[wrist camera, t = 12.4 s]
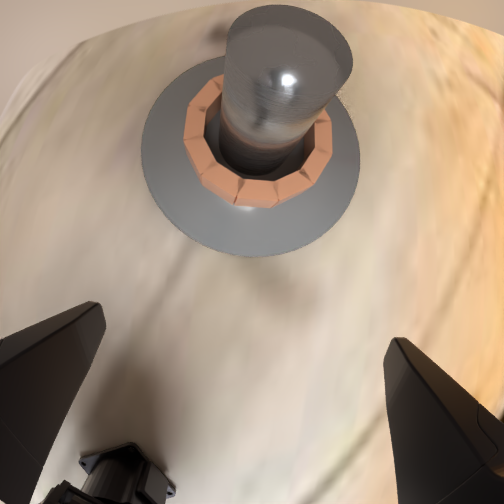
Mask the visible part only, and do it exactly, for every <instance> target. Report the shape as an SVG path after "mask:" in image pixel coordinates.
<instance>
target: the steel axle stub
mask: <svg viewBox="0 0 504 504" xmlns="http://www.w3.org/2000/svg"><path fill="white" fill-rule="evenodd" d="M352 66H353V58H352V53H351V50H350V47H349V45H348V43H347V41H346V40H345V38H344V37H343V35H342V34H341V33H340V32H339V31H338V30H337V29H336V28H335V27H334V26H333V25H332V24H331V23H329V22H328V21H327V20H325V19H324V18H322V17H320V16H318V15H317V14H315V13H312V12H310V11H307V10H305V9H302V8H298V7H294V6H288V5H266V6H261V7H257V8H254V9H251V10H249V11H247V12H245V13H244V14H242V15H241V16H239V17H238V18H237V19H236V20H235V21H234V23H233V24H232V26H231V27H230V29H229V33H228V38H227V47H226V57H225V67H224V78H223V89H222V101H221V113H220V126H219V139H218V144H219V150H220V153H221V155H222V157H223V159H224V160H225V161H226V163H227V164H228V165H229V166H230V167H232V168H233V169H234V170H236V171H238V172H240V173H243V174H246V175H251V176H261V175H266V174H269V173H271V172H273V171H275V170H277V169H278V168H279V167H280V166H281V165H282V164H283V163H284V162H285V160H286V159H287V157H288V156H289V155H290V153H291V152H292V151H293V150H294V148H295V147H296V146H297V144H298V143H299V142H300V140H301V139H302V138H303V136H304V135H305V134H306V132H307V131H308V130H309V128H310V127H311V126H312V124H313V123H314V122H315V121H316V119H317V118H318V117H319V115H320V114H321V113H322V111H323V110H324V109H325V108H326V106H327V105H328V104H329V102H330V101H331V100H332V99H333V97H334V96H335V95H336V93H337V92H338V91H339V90H340V88H341V87H342V86H343V84H344V83H345V82H346V81H347V79H348V78H349V76H350V74H351V71H352Z"/></svg>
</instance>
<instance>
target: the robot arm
mask: <svg viewBox="0 0 504 504" xmlns="http://www.w3.org/2000/svg"><path fill="white" fill-rule="evenodd" d="M105 330H106V321H105V317H104V313H103V309H102V306H101V304H100V303H97V302H93V301H88V302H85V303H83V304H81V305H78V306H76V307H74V308H71V309H69V310H67V311H64V312H62V313H60V314H57V315H55V316H53V317H51V318H48V319H46V320H44V321H41V322H39V323H37V324H34V325H32V326H30V327H28V328H25V329H23V330H21V331H19V332H16V333H14V334H12V335H9V336H7V337H5V338H4V339H0V500H1V501H3V502H4V503H5V504H29V503H30V501H31V498H32V495H33V493H34V490H35V487H36V485H37V482H38V480H39V477H40V475H41V472H42V470H43V466H44V464H45V462H46V460H47V457H48V455H49V452H50V450H51V448H52V446H53V443H54V441H55V439H56V437H57V434H58V432H59V430H60V428H61V426H62V423H63V421H64V419H65V417H66V415H67V413H68V411H69V409H70V407H71V404H72V402H73V400H74V398H75V396H76V394H77V392H78V390H79V388H80V386H81V384H82V382H83V380H84V379H85V377H86V375H87V373H88V371H89V369H90V367H91V364H92V362H93V359H94V357H95V354H96V352H97V349H98V347H99V345H100V342H101V340H102V337H103V335H104V333H105ZM383 367H384V379H385V395H386V408H387V415H388V421H389V428H390V434H391V441H392V448H393V456H394V464H395V473H396V483H397V494H398V504H504V424H503V423H502V422H501V421H499V420H498V419H497V418H496V417H495V416H494V415H492V414H491V413H490V412H489V411H488V410H487V409H486V408H485V407H484V406H482V405H481V404H480V403H479V402H478V401H477V400H476V399H475V398H474V397H473V396H471V395H470V394H469V393H468V392H467V391H466V390H465V389H464V388H463V387H461V386H460V385H459V384H458V383H457V382H456V381H455V380H454V379H453V378H451V377H450V376H449V375H448V374H447V373H446V372H445V371H444V370H442V369H441V368H440V367H439V366H438V365H437V364H436V363H434V362H433V361H432V360H431V359H430V358H429V357H428V356H426V355H425V354H424V353H423V352H422V351H421V350H420V349H418V348H417V347H416V346H415V345H414V344H413V343H411V342H410V341H409V340H408V339H407V338H404V337H394V338H393V339H392V340H391V342H390V345H389V347H388V350H387V352H386V355H385V357H384V362H383ZM130 447H131V448H133V449H134V450H132V449H130ZM84 462H85V463H86V464H85V463H84ZM79 464H80V465H81V467H82V468H83V469H84V470H85V471H86V473H87V474H88V477H87V479H86V481H85V483H84V485H83V487H82V489H81V490H79V489H77V488H76V487H74V486H72V485H71V483H69V482H67V481H66V480H64V481H63V482H62V483H61V484H60V485H59V484H58V485H57V486H56V487H55V488H51V490H50V492H49V493H48V495H47V496H46V498H45V499H44V500H43V501H42V502H40V503H39V504H165V501H166V499H167V498H171V497H174V496H175V494H176V490H175V489H174V488H173V487H172V486H171V485H170V484H169V483H168V480H167V479H166V478H165V476H164V475H163V474H162V473H161V472H160V471H159V470H158V468H157V467H156V466H155V465H154V464H153V463H152V462H151V461H149V460H148V458H147V457H146V456H145V455H144V453H143V452H142V451H141V450H140V448H139V447H138V446H137V445H136V444H134V443H127V444H124V445H121V446H118V447H115V448H112V449H108V450H105V451H102V452H99V453H95V454H92V455H88V456H85V457H81V458H80V460H79ZM170 492H172V493H170Z"/></svg>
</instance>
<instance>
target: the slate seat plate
mask: <svg viewBox="0 0 504 504" xmlns="http://www.w3.org/2000/svg"><path fill="white" fill-rule="evenodd" d="M225 57H226V56H223V57H218V58H215V59H211V60H208V61H206V62H203V63H201V64H199V65H196V66H194V67H193V68H191V69H189V70H187V71H186V72H184V73H183V74H182V75H180V76H179V77H178V78H176V79H175V80H174V81H173V82H172V83H171V84H170V85H169V86H168V87H167V88H166V89H165V90H164V91H163V92H162V94H161V95H160V96H159V97H158V99H157V100H156V102H155V104H154V105H153V107H152V109H151V111H150V113H149V116H148V118H147V121H146V123H145V127H144V131H143V135H142V144H141V158H142V167H143V172H144V177H145V180H146V182H147V185H148V188H149V191H150V193H151V194H152V196H153V198H154V200H155V202H156V204H157V205H158V207H159V208H160V209H161V211H162V212H163V213H164V215H165V216H166V217H167V218H168V219H169V220H170V221H171V222H172V223H173V224H174V225H175V226H176V227H177V228H178V229H179V230H180V231H182V232H183V233H184V234H186V235H187V236H188V237H190V238H191V239H193V240H195V241H196V242H198V243H200V244H202V245H203V246H206V247H208V248H211V249H213V250H216V251H218V252H222V253H226V254H230V255H236V256H244V257H266V256H272V255H279V254H283V253H287V252H290V251H294V250H297V249H299V248H301V247H303V246H306V245H308V244H310V243H311V242H313V241H314V240H316V239H318V238H319V237H321V236H322V235H323V234H324V233H326V232H327V231H328V230H329V229H330V228H332V227H333V225H334V224H335V223H336V222H337V221H338V220H339V219H340V218H341V216H342V215H343V213H344V212H345V210H346V209H347V207H348V206H349V203H350V201H351V199H352V197H353V195H354V192H355V189H356V186H357V182H358V177H359V171H360V151H359V143H358V139H357V135H356V131H355V128H354V126H353V123H352V121H351V118H350V116H349V115H348V113H347V111H346V109H345V107H344V106H343V105H342V103H341V102H340V100H339V99H338V97H337V96H336V95H335V96H334V97H333V99H332V100H331V101H330V102H329V104H328V105H327V106H326V108H325V109H324V110H323V111H322V113H321V114H320V115H319V117H318V118H317V119H316V121H315V122H314V123H313V124H312V126H311V127H310V128H309V130H308V131H307V132H306V134H305V135H304V136H303V138H302V139H301V140H300V142H299V143H298V144H297V146H296V147H295V148H294V150H293V151H292V152H291V153H290V155H289V156H288V157H287V159H286V160H285V162H284V163H283V164H282V165H281V166H280V167H279V168H278V169H277V170H275V171H273V172H271V173H269V174H266V175H261V176H251V175H246V174H243V173H240V172H238V171H236V170H234V169H233V168H232V167H230V166H229V165H228V164H227V163H226V161H225V160H224V159H223V157H222V155H221V153H220V150H219V144H218V139H219V126H220V113H221V101H222V89H223V78H224V67H225Z"/></svg>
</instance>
